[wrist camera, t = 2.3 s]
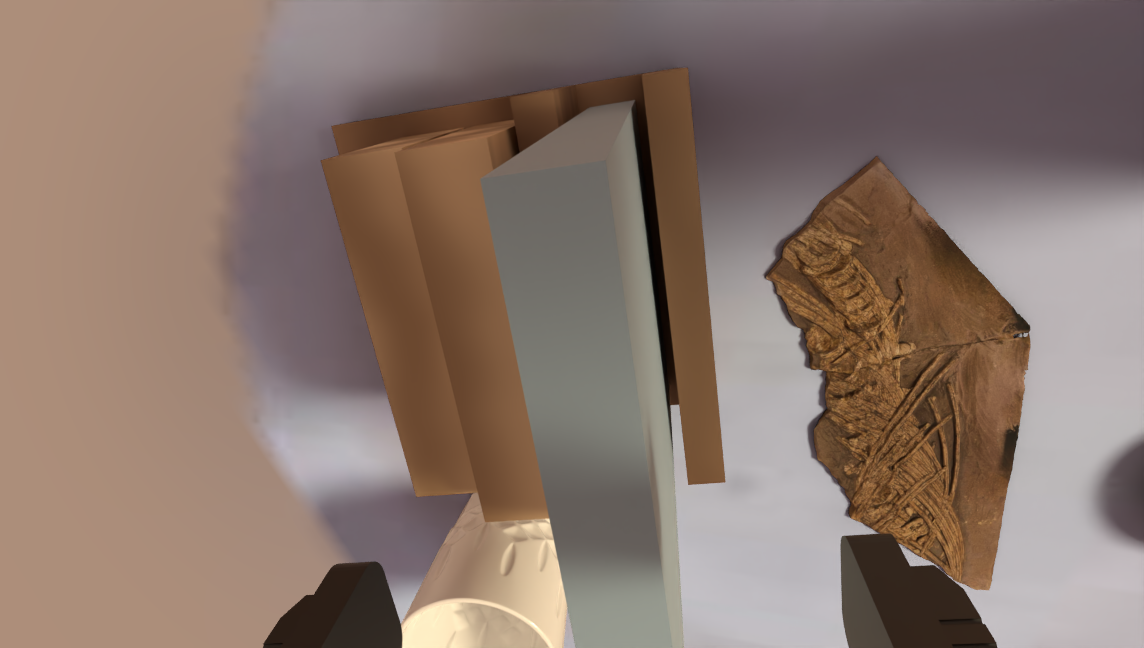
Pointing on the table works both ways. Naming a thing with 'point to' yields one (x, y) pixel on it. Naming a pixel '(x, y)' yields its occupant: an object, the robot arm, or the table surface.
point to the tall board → (594, 371)
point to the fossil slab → (908, 371)
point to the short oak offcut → (400, 313)
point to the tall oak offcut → (474, 311)
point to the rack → (669, 213)
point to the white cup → (490, 588)
